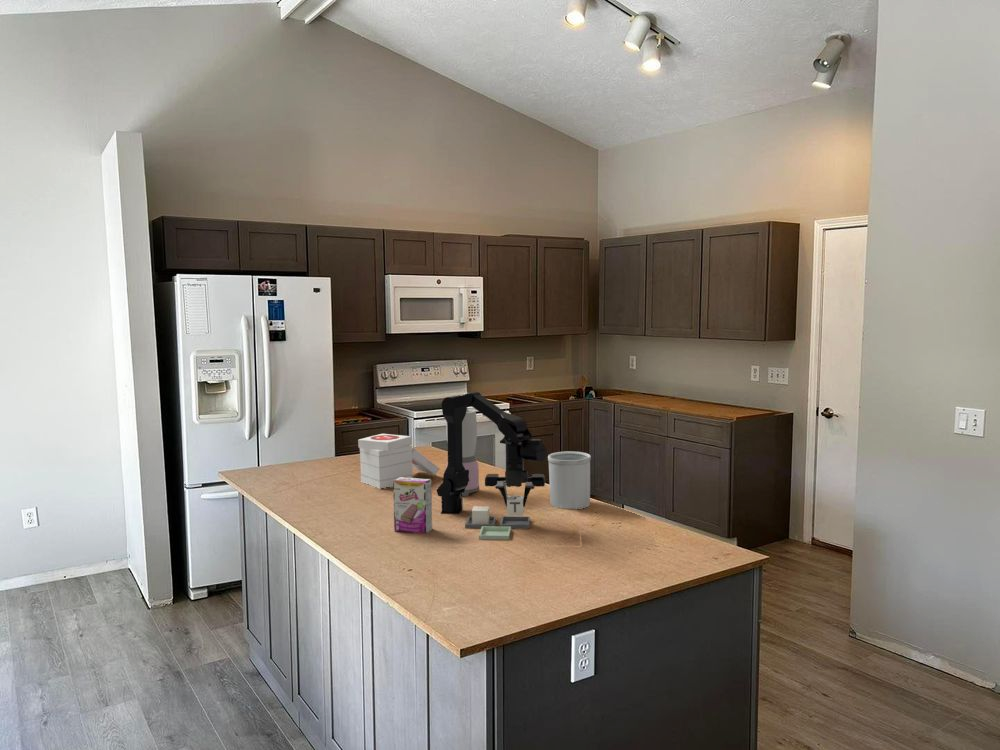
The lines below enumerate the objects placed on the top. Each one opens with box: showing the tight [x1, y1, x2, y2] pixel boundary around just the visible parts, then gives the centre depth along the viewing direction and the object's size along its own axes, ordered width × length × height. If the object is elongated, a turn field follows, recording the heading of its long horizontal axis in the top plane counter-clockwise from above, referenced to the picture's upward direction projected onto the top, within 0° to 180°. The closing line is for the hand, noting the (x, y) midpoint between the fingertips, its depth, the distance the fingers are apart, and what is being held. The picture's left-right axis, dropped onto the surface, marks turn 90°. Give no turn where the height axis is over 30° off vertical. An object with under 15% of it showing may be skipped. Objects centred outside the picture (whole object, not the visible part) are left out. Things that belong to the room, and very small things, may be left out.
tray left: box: [464, 515, 497, 529], centre depth 237 cm, size 9×9×2 cm
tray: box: [478, 525, 512, 541], centre depth 226 cm, size 9×9×2 cm
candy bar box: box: [392, 477, 433, 534], centre depth 232 cm, size 11×5×16 cm, turn 71°
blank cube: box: [471, 505, 490, 524], centre depth 237 cm, size 5×5×5 cm
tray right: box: [499, 515, 531, 530], centre depth 236 cm, size 9×9×2 cm
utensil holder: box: [547, 450, 592, 510], centre depth 259 cm, size 15×15×18 cm
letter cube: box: [506, 495, 525, 517], centre depth 236 cm, size 5×5×5 cm
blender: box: [445, 407, 480, 497], centre depth 276 cm, size 16×12×32 cm
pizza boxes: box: [357, 433, 440, 489], centre depth 299 cm, size 19×30×18 cm, turn 129°
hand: (515, 506), depth 236 cm, fingers closed on letter cube, 5 cm apart
